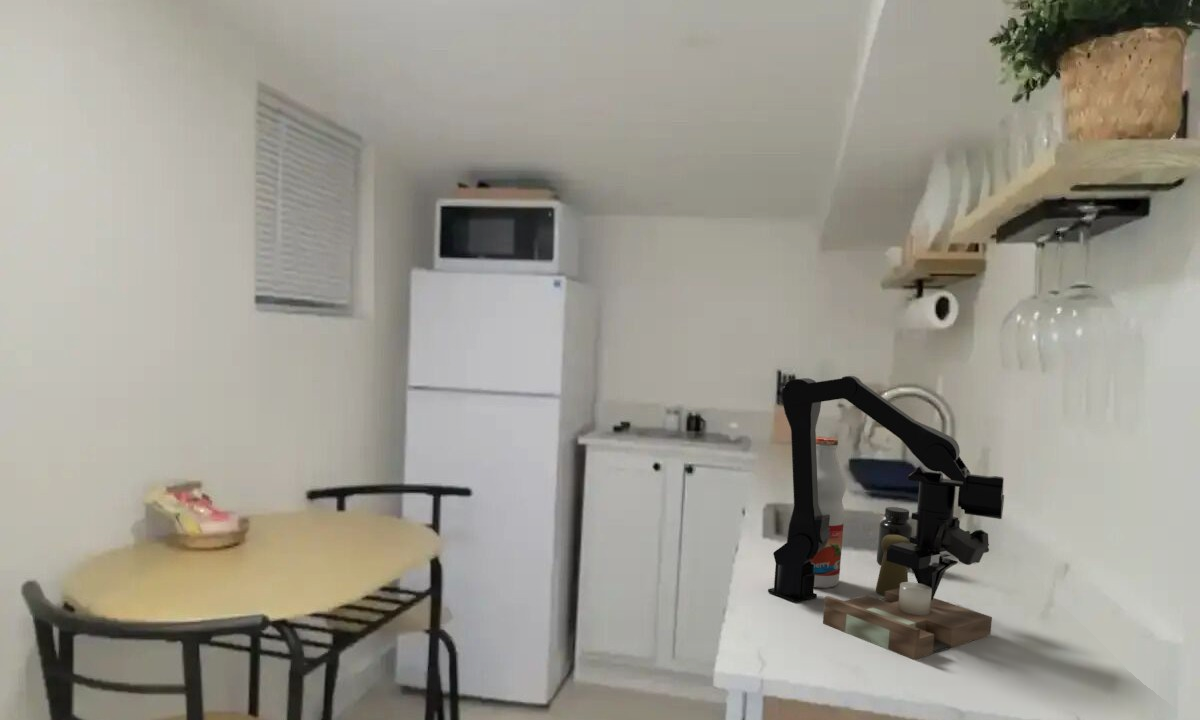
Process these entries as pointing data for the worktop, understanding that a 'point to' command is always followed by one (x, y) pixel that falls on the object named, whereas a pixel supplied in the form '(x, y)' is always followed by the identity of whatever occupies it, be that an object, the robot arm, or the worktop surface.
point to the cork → (891, 568)
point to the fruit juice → (829, 512)
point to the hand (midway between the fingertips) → (928, 600)
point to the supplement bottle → (893, 527)
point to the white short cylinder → (914, 598)
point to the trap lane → (906, 624)
